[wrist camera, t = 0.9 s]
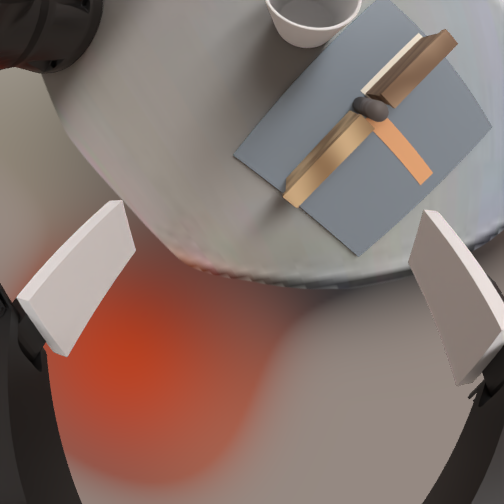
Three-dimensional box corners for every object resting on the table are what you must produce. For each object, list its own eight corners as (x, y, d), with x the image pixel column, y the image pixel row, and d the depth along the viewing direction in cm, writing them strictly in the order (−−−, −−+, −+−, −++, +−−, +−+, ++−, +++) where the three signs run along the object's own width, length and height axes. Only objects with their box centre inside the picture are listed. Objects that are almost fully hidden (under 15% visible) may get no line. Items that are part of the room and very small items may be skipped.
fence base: (349, 105, 26) (363, 110, 21) (418, 34, 19) (445, 28, 14) (362, 117, 26) (378, 126, 21) (430, 47, 20) (458, 44, 14)
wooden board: (347, 108, 26) (360, 114, 21) (359, 119, 26) (375, 128, 21) (284, 176, 31) (282, 196, 26) (296, 186, 32) (296, 208, 27)
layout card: (233, 153, 31) (232, 155, 31) (381, -5, 18) (383, -6, 17) (357, 254, 37) (358, 257, 36) (490, 126, 23) (492, 127, 22)
